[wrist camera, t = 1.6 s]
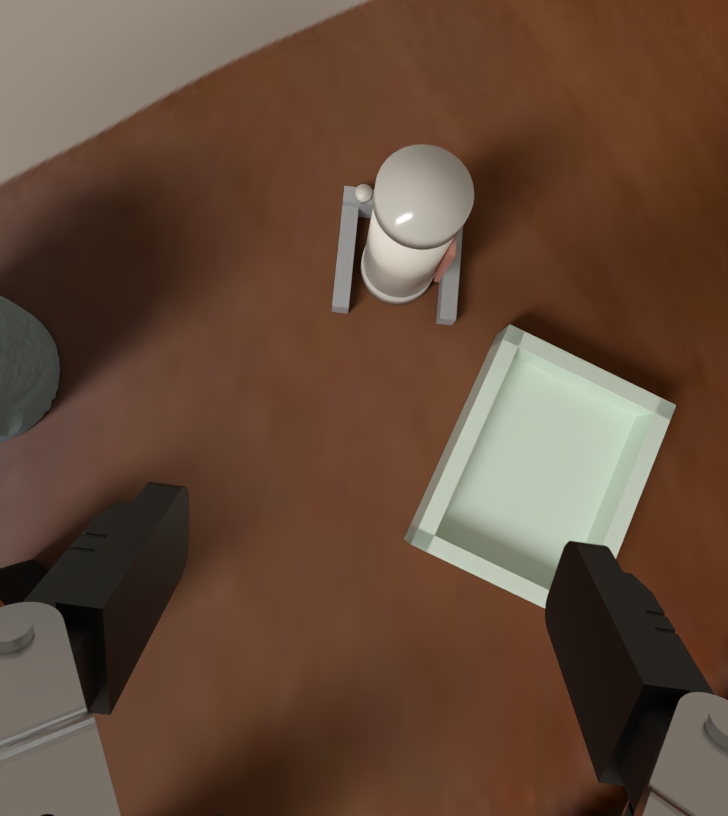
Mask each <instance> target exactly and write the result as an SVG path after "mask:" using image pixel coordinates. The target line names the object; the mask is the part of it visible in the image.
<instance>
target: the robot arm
mask: <svg viewBox="0 0 728 816" xmlns="http://www.w3.org/2000/svg"><path fill="white" fill-rule="evenodd" d="M188 514H189V495H188V489H187V488H186V487H184V486H177V485H169V484H162V483H155V482H149V483H148V484H147V485H146V486H145V487H144V488H143V490H142V491H141V492H140V494H139V495H138V496H137V497H136V499H135V500H134V501H133V503H132V504H129V503H121V502H118V503H117V504H115V505H113V506H111V507H110V508H108V509H106V510H105V511H103V512H101V513H99V514H98V515H96V516H95V517H94V519H93V520H92V521H91V522H90V523H89V525H88V526H87V527H86V528H85V529H84V530H83V532H82V535H81V536H78V537H77V539H76V540H75V541H74V542H73V543H72V545H71V546H70V549H69V550H66V552H65V553H64V554H63V555H62V556H61V557H60V559H59V560H58V561H57V562H56V563H55V565H54V566H53V567H52V568H51V569H50V570H49V572H48V573H47V574H46V575H45V576H44V577H43V579H42V580H41V581H40V582H39V583H38V585H37V586H36V587H35V588H34V589H33V590H32V592H31V593H30V594H29V595H28V596H27V597H26V599H25V600H24V601H23V602H21V603H14V604H10V605H6V606H3V607H0V816H121V815H120V812H119V808H118V804H117V800H116V797H115V793H114V789H113V785H112V782H111V778H110V774H109V771H108V767H107V763H106V759H105V756H104V752H103V748H102V744H101V741H100V737H99V733H98V729H97V726H96V722H95V719H94V716H93V713H99V714H107V715H110V714H111V712H112V710H113V708H114V706H115V705H116V703H117V701H118V699H119V697H120V695H121V693H122V691H123V689H124V687H125V685H126V683H127V681H128V679H129V677H130V675H131V673H132V672H133V670H134V668H135V666H136V664H137V662H138V660H139V658H140V656H141V654H142V652H143V650H144V648H145V646H146V644H147V642H148V640H149V639H150V637H151V635H152V633H153V631H154V629H155V627H156V625H157V623H158V621H159V619H160V617H161V615H162V613H163V611H164V609H165V607H166V606H167V604H168V602H169V600H170V598H171V596H172V594H173V592H174V590H175V588H176V586H177V584H178V582H179V580H180V578H181V576H182V574H183V571H184V568H185V564H186V560H187V554H188ZM664 614H665V613H664V611H663V610H662V608H661V606H660V605H659V603H658V601H657V600H656V598H655V596H654V595H653V593H652V592H651V591H650V590H649V589H648V588H647V587H645V586H644V585H643V584H642V583H641V582H640V581H639V580H638V579H637V578H636V577H635V576H633V575H632V574H630V573H623V571H622V569H621V568H620V566H619V564H618V562H617V561H616V559H615V557H614V555H613V554H612V552H611V550H610V549H609V548H608V547H607V546H604V545H597V544H590V543H583V542H575V541H569V542H567V543H566V545H565V546H564V549H563V551H562V554H561V557H560V560H559V563H558V566H557V569H556V572H555V575H554V578H553V581H552V584H551V587H550V590H549V593H548V596H547V600H546V606H545V620H546V626H547V630H548V633H549V636H550V639H551V642H552V645H553V648H554V651H555V654H556V657H557V660H558V663H559V666H560V669H561V672H562V675H563V678H564V681H565V684H566V687H567V690H568V693H569V696H570V699H571V702H572V705H573V708H574V711H575V714H576V717H577V719H578V722H579V725H580V728H581V731H582V734H583V737H584V740H585V743H586V746H587V749H588V752H589V755H590V758H591V761H592V764H593V767H594V770H595V773H596V776H597V779H598V782H599V783H607V784H614V785H622V786H625V789H626V791H627V794H628V797H629V801H628V803H627V805H626V807H625V809H624V811H623V813H622V816H728V700H726V699H724V698H721V697H719V696H716V695H714V693H713V691H712V690H711V688H710V686H709V685H708V683H707V681H706V680H705V678H704V677H703V675H702V673H701V672H700V670H699V668H698V667H697V665H696V663H695V662H694V660H693V659H692V657H691V655H690V654H689V652H688V650H687V649H686V647H685V646H684V644H683V642H682V641H681V639H680V637H679V636H678V635H677V634H675V629H674V628H673V626H672V624H671V623H670V621H669V619H668V618H667V617H665V616H664ZM216 816H223V815H216Z"/></svg>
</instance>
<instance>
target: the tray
mask: <svg viewBox="0 0 728 816" xmlns="http://www.w3.org/2000/svg"><path fill="white" fill-rule="evenodd" d="M675 407H676V405H675V404H673V403H671V402H669V401H667V400H665V399H663V398H661V397H659V396H656V395H654V394H652V393H650V392H648V391H646V390H644V389H642V388H640V387H638V386H636V385H634V384H632V383H630V382H628V381H626V380H624V379H621V378H619V377H617V376H615V375H613V374H611V373H609V372H607V371H605V370H603V369H601V368H599V367H597V366H595V365H593V364H591V363H589V362H587V361H584V360H582V359H580V358H578V357H576V356H574V355H572V354H570V353H568V352H566V351H564V350H562V349H560V348H558V347H556V346H554V345H552V344H549V343H547V342H545V341H543V340H541V339H539V338H537V337H535V336H533V335H531V334H529V333H527V332H525V331H523V330H521V329H519V328H517V327H514V326H512V325H510V324H509V325H508V326H507V327H506V328H504V329H503V330H502V331H501V332H499V333H498V334H497V335H496V336H495V339H494V341H493V343H492V345H491V348H490V350H489V352H488V354H487V356H486V359H485V361H484V363H483V365H482V367H481V370H480V372H479V374H478V376H477V379H476V381H475V383H474V385H473V387H472V390H471V392H470V394H469V396H468V399H467V401H466V403H465V405H464V407H463V410H462V412H461V414H460V416H459V418H458V421H457V423H456V425H455V427H454V430H453V432H452V434H451V436H450V438H449V441H448V443H447V445H446V447H445V449H444V452H443V454H442V456H441V458H440V461H439V463H438V465H437V467H436V469H435V472H434V474H433V476H432V478H431V481H430V483H429V485H428V487H427V489H426V492H425V494H424V496H423V498H422V500H421V503H420V505H419V507H418V509H417V512H416V514H415V516H414V518H413V520H412V523H411V525H410V527H409V529H408V531H407V534H406V536H405V538H404V539H405V540H406V541H407V542H408V543H410V544H411V545H413V546H415V547H417V548H419V549H422V550H424V551H426V552H428V553H430V554H432V555H434V556H436V557H438V558H440V559H442V560H445V561H447V562H449V563H451V564H453V565H455V566H457V567H459V568H461V569H463V570H465V571H468V572H470V573H472V574H474V575H476V576H478V577H480V578H482V579H484V580H486V581H489V582H491V583H493V584H495V585H497V586H499V587H501V588H503V589H505V590H507V591H509V592H512V593H514V594H516V595H518V596H520V597H522V598H524V599H526V600H528V601H530V602H533V603H535V604H537V605H539V606H541V607H543V608H545V606H546V600H547V596H548V593H549V590H550V587H551V584H552V581H553V578H554V575H555V572H556V569H557V566H558V563H559V560H560V557H561V554H562V551H563V549H564V546H565V545H566V543H567V542H569V541H575V542H583V543H590V544H597V545H604V546H607V547H608V548H609V549H610V550H611V552H612V554H613V555H614V557H615V559H616V557H617V555H618V552H619V549H620V547H621V544H622V542H623V539H624V537H625V534H626V532H627V529H628V527H629V524H630V522H631V519H632V516H633V514H634V511H635V509H636V506H637V504H638V501H639V499H640V496H641V494H642V491H643V488H644V486H645V483H646V481H647V478H648V476H649V473H650V471H651V468H652V466H653V463H654V460H655V458H656V455H657V453H658V450H659V448H660V445H661V443H662V440H663V438H664V435H665V432H666V430H667V427H668V425H669V422H670V420H671V417H672V415H673V412H674V410H675Z"/></svg>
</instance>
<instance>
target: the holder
mask: <svg viewBox="0 0 728 816" xmlns="http://www.w3.org/2000/svg"><path fill="white" fill-rule="evenodd" d="M373 195H374V189H371V187H370V186H369V185H366V184H361V185H359V186H358V187H350V186H344V196H343V207H342V217H341V226H340V236H339V245H338V255H337V265H336V274H335V284H334V293H333V303H332V312H338V313H347V314H348V309H349V300H350V290H351V280H352V270H353V260H354V250H355V240H356V230H357V220H358V217H363V218H371V216H372V211H373ZM462 234H463V227H462V228H461V230H460V232H459V233H458V234H457V239H456V252H455V257H454V259H453V260H452V262H451V263H450V265H449V267H448V268H447V270H446V272H445V273H444V275H443V277H442V278H441V280H440V282H439V292H438V304H437V317H436V324H444V325H452V324H453V323H454V322H455V321H456V314H457V301H458V287H459V274H460V261H461V248H462Z"/></svg>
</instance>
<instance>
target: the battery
mask: <svg viewBox="0 0 728 816" xmlns="http://www.w3.org/2000/svg"><path fill="white" fill-rule="evenodd" d="M46 574H47V572H46V570H45V569H44V568H43V567H42V566H41V565H40V564H39V563H38V562H37V561H34V560H28V561H24V562H21V563H17V564H14V565H11V566H7V567H4V568H0V607H3V606H6V605H10V604H14V603H21V602H23V601H24V600H25V599H26V597H27V596H28V595H29V594H30V593H31V592H32V590H33V589H34V588H35V587H36V586H37V585H38V583H39V582H40V581H41V580H42V579H43V577H44V576H45V575H46Z"/></svg>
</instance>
